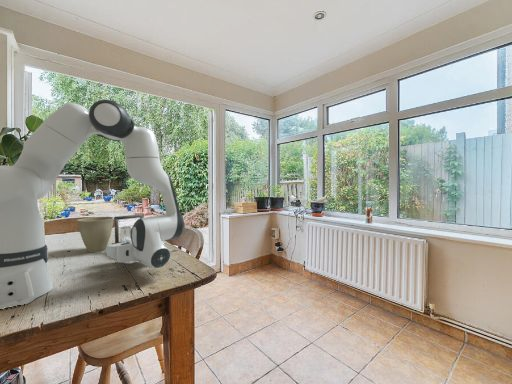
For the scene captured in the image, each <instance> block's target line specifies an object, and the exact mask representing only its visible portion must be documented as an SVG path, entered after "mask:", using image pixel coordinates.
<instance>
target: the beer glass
mask: <svg viewBox="0 0 512 384" xmlns="http://www.w3.org/2000/svg"><path fill="white" fill-rule="evenodd" d="M132 227H133V225H127V226H126V225H125V226H122V227H120V233H119V235H120V236H119V240H120V242H121V243H124V242H130V241H131V229H132ZM135 263H136V262H135V261H129V262H121V264H123V265H129V264H135Z"/></svg>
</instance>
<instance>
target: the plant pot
mask: <svg viewBox="0 0 512 384" xmlns="http://www.w3.org/2000/svg"><path fill="white" fill-rule="evenodd" d="M114 217H115V216H93V217H86V218H85V217H84V218H80V219H77V220H76V221H77V225H78V230H79V233H80V237H81V239H82V242H83V244H84V247H85V248H86V251H87V252H88V253H97V252H103V251H106V247H107V246H108V245H109V241H110V239H111V234H112V230H113V225H114V221H115V220H114Z"/></svg>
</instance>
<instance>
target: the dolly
mask: <svg viewBox="0 0 512 384" xmlns="http://www.w3.org/2000/svg"><path fill="white" fill-rule="evenodd" d="M113 217H114V220H113V221H114V242H112V243H111V245H113V244H117V243H121V241H120V236H119V235H120V233H119V230H120V229H119V221H120V220H128V219H141V218H145V215H144V214H143V213H141V214H131V215H120V216H113Z"/></svg>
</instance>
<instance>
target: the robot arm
mask: <svg viewBox="0 0 512 384" xmlns="http://www.w3.org/2000/svg"><path fill="white" fill-rule="evenodd" d="M94 135H96V136H97V137H100V138H104V139H106V140H109V141H112V142H121V143H122V145H123V148H124V154H125V166H126V170H127V173H128V175H129V177H130V178H132V179H133V180H134V181H136V182H138V183H139V184H142V185H145V186H148V187H152V188H154V189H156V190H158V191H159V193H160V195H161V197H162V201H163V205H164V208H165V213H164V214H160V215H155V216H147V217H144V218H141V219H140V218H137V220H136V221H135V222H134V223H133V225H132V226H133V227H132V229H131V241H130V242H124V243H117V244H113V245H112V244H108V245H107V247H106V249H105V252H106V256H107V257H109V258H111V259H113V260H116V262H118V263H122V262H129V261H135V263H137V262H139V263H141V264H142V265H144V266H146V267H148V268H151V269H158V268H159V269H160V268H161V267H164V266H165V265H166V264H167V263H168V262H169V260H170V259H171V251H170V249H169V248H168V247H167V246H166V242H165V241H168V240H174V239H179V238H180V237H181V236H182V235H183V233H184V231H185V229H186V227H185V226H186V225H185V220H184V218H183V215H182V212H181V210H180V207H179V203H178V197H177V195H176V194H177V193H176V190H175V187H174V184H173V180H172V177H171V176H170V174H169V173H167V172H166V171H165V170H164V168H163V166H162V164H161V159H160V158H161V157H160V151H159V145H158V141H157V137H156V135H155V132H153V131H152V130H151V129H149V128H148V127H144V126H143V127H142V126H137V125H135V121H134V120H133V118H132V117H131V115H130V114H129V113H128V111H127V110H126V109H125V108H124V107H123V106H122V105H121V104H120V103H118V102H116V101H113V100H110V99H101V100H100V99H99V100H97V101H95V102H94V103H93V104H92V105H91V106H90V108H89V109H88V108H86V107H85V106H84V105H81V104H79V103H75V102H69V103H65V104H63V105H62V106H60V107H59V108H58V109H56V110H54V111H53V112H52V113H51V114H50V115H49V116H48V117H46V119H45V120H43V122H42V123H40V125H39V126H38V127H37V128H36V129H35V130H34V131H33V132H32V133H31V135H30V136H29V137H28V138H27V139H26V140H25V141H24V143H23V147H22V151H21V153H20V155H19V157H18V159H17V160H16V161H15V163H14V164H13V165H5V164H4V165H3V164H2V165H0V309H1V308H4V307H9V306H16V307H18V306H17V305H21V306H24V304H25V305H27V304H30V303H31V302H33V301H34V300H35V299H37V298H39V297H41V296H43V295H46V294H47V293H49V292H50V291H51V290H53V289H54V284H53V282H52V280H51V279H52V278H51V276H50V273H49V272H50V271H49V269H48V263H47V262H48V259H49V253H48V252H49V251H48V250H49V249H48V245H47V244H46V238H45V237H46V234H45V230H46V229H45V220H44V219H43V217H42V215H41V214H40V211H39V206H38V203H37V201H38V200H40V199H43V198H44V197H45V196H46V195H47V194H49V193H50V191H51V190H52V186H53V185H54V184H55V182H56V181H57V179H58V178H59V175H60V174H61V172H62V170H63V169H64V168H65V166H66V164H67V163H68V162H69V161H70V160H71V159H72V158H73V156H74V155H75V154H76V153H77V152H78V150H79V149H81V148H82V146H83V144H84V143H85V142H86V141H87V140H89V138H90V137H91V136H94Z"/></svg>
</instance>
